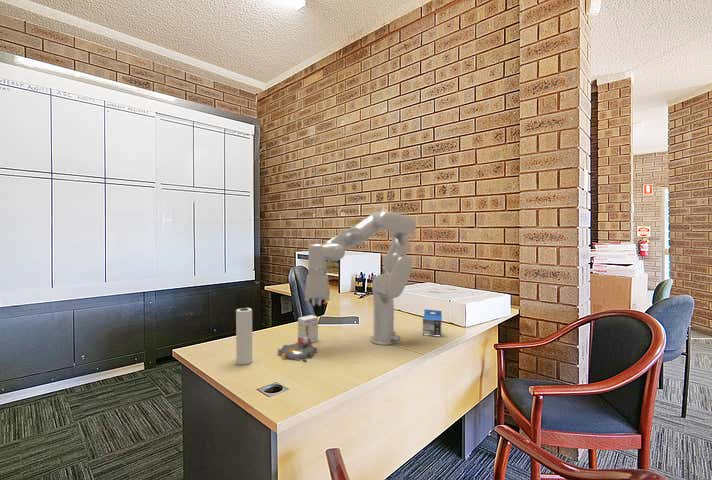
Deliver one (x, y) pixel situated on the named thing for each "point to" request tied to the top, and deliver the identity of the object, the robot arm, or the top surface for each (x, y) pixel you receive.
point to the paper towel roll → (244, 336)
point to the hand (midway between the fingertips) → (317, 314)
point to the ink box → (308, 328)
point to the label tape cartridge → (432, 322)
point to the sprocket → (298, 350)
